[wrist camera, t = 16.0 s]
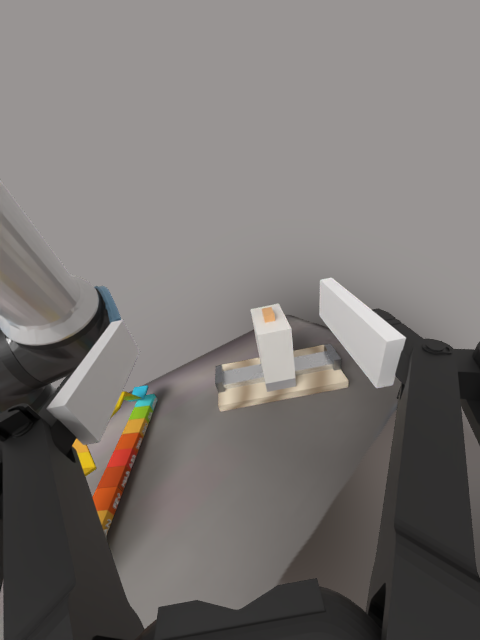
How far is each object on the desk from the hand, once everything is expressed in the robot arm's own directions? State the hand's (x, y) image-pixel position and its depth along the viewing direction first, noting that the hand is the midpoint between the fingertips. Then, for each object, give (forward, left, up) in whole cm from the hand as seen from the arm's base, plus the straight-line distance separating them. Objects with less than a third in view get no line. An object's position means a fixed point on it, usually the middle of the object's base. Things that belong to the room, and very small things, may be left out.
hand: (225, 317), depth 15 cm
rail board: (0, +18, -25) cm, 30 cm away
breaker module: (0, +18, -23) cm, 29 cm away
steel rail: (0, +18, -23) cm, 29 cm away
